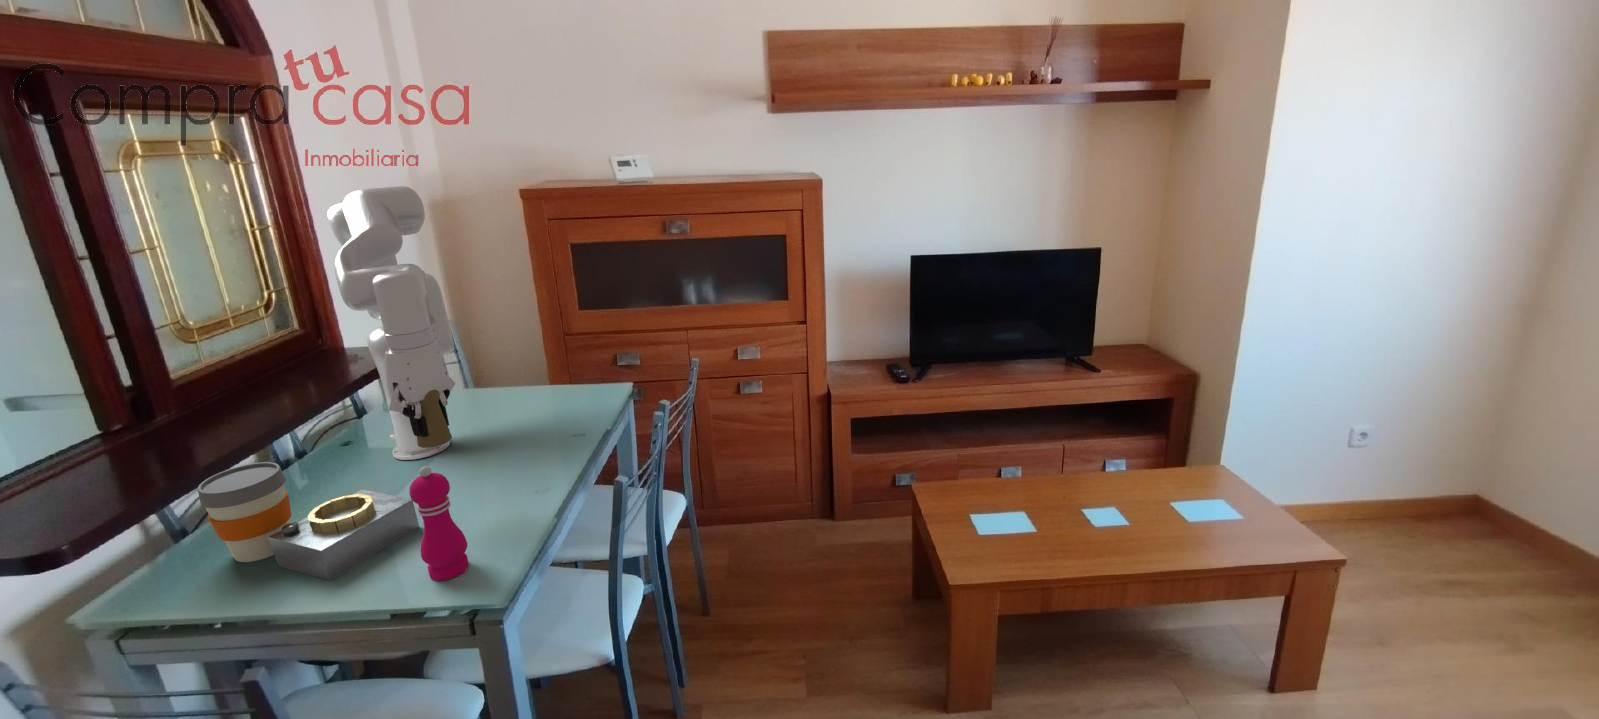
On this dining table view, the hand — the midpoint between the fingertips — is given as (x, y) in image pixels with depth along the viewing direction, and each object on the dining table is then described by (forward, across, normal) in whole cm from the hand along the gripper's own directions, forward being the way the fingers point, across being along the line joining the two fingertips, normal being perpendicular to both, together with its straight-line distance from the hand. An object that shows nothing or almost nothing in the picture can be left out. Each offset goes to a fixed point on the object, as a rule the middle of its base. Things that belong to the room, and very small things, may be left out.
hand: (431, 429), depth 133 cm
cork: (+2, 0, 0) cm, 3 cm away
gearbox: (+19, +14, -11) cm, 26 cm away
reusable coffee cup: (+19, +19, -27) cm, 38 cm away
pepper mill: (+19, +14, +14) cm, 28 cm away
